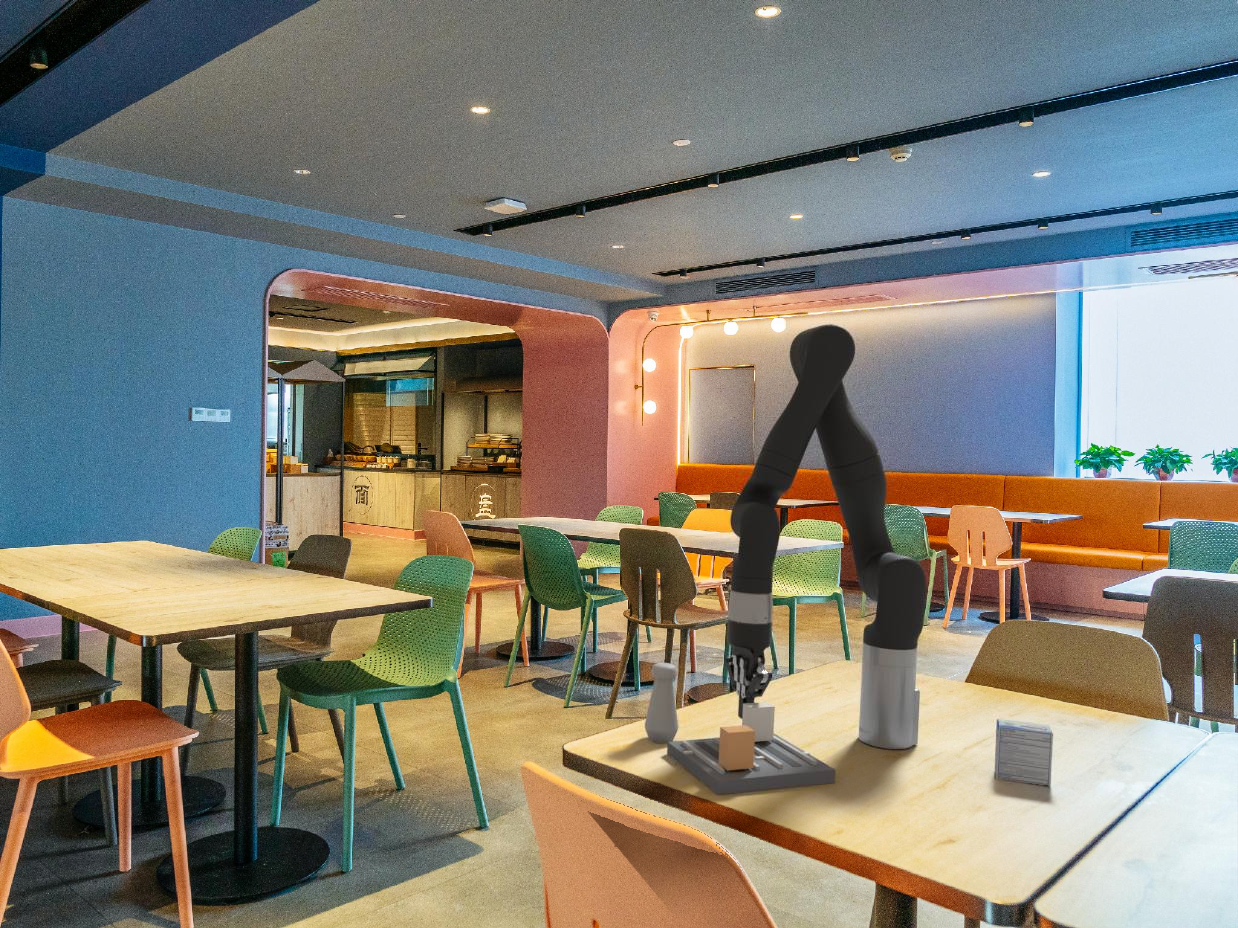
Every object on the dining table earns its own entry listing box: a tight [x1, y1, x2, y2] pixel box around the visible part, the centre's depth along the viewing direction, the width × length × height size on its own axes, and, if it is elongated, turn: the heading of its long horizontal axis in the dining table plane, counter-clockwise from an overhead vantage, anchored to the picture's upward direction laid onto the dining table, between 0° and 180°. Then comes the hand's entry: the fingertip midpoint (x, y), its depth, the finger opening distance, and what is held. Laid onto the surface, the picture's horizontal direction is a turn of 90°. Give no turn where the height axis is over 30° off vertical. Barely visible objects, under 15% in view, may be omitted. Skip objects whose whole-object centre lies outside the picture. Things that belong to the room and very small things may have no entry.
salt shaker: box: [644, 662, 680, 744], centre depth 151 cm, size 6×6×13 cm
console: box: [666, 733, 836, 796], centre depth 139 cm, size 20×18×3 cm
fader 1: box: [719, 725, 755, 770], centre depth 133 cm, size 4×3×6 cm, turn 111°
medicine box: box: [994, 718, 1054, 787], centre depth 140 cm, size 8×4×9 cm, turn 71°
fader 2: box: [741, 701, 776, 742], centre depth 146 cm, size 4×3×6 cm, turn 111°
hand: (745, 718), depth 150 cm, fingers closed
